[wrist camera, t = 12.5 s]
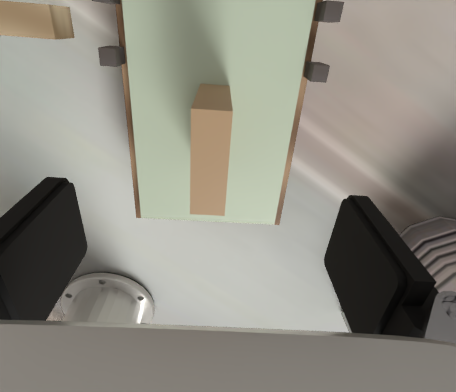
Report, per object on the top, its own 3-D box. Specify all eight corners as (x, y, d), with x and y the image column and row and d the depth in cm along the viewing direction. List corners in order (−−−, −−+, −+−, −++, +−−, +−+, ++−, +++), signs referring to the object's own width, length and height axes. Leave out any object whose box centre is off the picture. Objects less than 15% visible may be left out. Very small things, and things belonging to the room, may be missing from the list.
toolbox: (275, 188, 33) (291, 238, 26) (145, 181, 33) (121, 230, 25) (307, -3, 24) (347, -15, 17) (131, -18, 24) (86, -40, 16)
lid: (272, 218, 27) (290, 284, 20) (143, 211, 26) (115, 277, 19) (311, 0, 19) (364, -15, 12) (125, -17, 18) (64, -43, 11)
